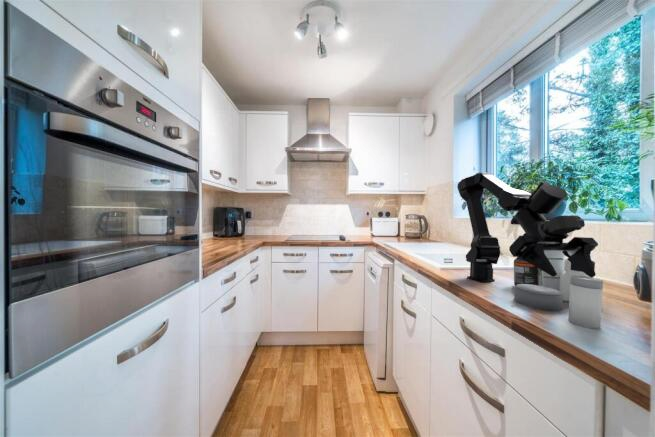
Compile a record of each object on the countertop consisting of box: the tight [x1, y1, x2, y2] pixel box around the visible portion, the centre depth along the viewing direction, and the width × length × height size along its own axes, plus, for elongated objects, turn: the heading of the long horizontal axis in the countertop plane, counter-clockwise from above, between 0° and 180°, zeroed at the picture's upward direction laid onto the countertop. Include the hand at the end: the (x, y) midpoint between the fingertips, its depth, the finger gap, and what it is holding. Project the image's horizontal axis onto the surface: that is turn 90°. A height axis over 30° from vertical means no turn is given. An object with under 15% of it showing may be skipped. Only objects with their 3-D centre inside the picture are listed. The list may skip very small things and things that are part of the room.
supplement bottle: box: [513, 257, 537, 287], centre depth 83 cm, size 6×6×11 cm
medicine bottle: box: [559, 257, 598, 302], centre depth 71 cm, size 7×7×12 cm
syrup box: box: [537, 251, 565, 291], centre depth 79 cm, size 6×6×14 cm
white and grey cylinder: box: [567, 276, 604, 330], centre depth 56 cm, size 5×5×10 cm
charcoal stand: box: [513, 284, 564, 312], centre depth 68 cm, size 10×10×4 cm
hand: (574, 276), depth 59 cm, fingers open, 9 cm apart
